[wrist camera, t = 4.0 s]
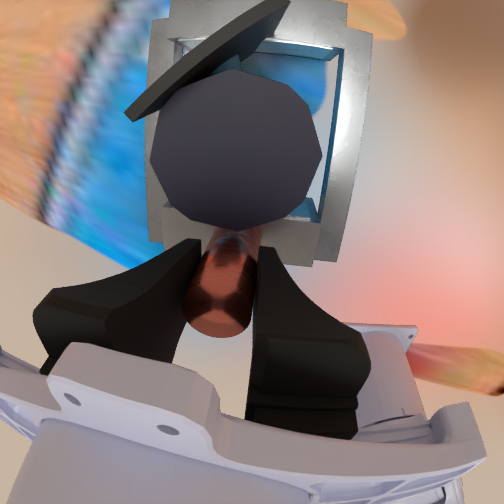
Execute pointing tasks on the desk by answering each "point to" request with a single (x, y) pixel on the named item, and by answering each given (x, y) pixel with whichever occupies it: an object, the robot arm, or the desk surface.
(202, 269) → the jaw slide
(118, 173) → the desk surface
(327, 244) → the vise body
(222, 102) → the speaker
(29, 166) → the desk surface
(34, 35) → the desk surface
